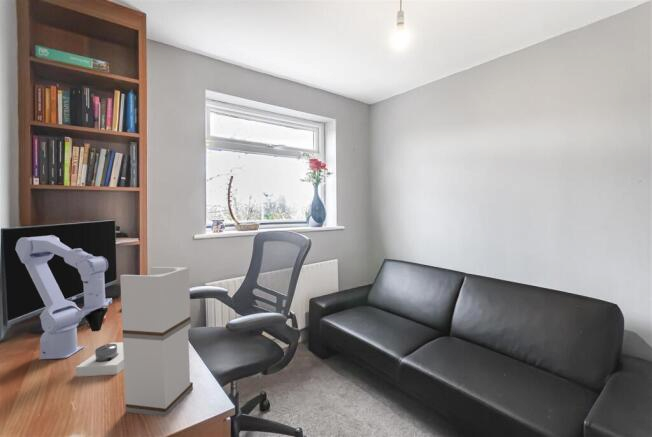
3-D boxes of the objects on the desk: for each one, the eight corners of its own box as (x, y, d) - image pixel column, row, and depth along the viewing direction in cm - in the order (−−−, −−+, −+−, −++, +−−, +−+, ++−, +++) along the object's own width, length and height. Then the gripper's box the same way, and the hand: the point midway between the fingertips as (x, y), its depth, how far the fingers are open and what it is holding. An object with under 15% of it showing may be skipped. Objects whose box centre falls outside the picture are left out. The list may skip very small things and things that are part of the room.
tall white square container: (192, 389, 81) (188, 267, 79) (165, 416, 70) (160, 276, 69) (157, 385, 83) (152, 266, 81) (125, 411, 72) (120, 275, 71)
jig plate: (76, 376, 88) (75, 367, 88) (111, 350, 104) (110, 342, 104) (117, 374, 89) (116, 364, 89) (145, 349, 105) (145, 341, 105)
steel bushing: (91, 371, 90) (90, 352, 90) (103, 361, 96) (103, 344, 96) (110, 369, 91) (109, 351, 91) (121, 360, 96) (120, 343, 96)
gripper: (91, 298, 92) (93, 339, 92) (120, 286, 106) (121, 321, 107) (68, 299, 91) (69, 340, 92) (100, 286, 106) (101, 322, 106)
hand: (96, 330), depth 99 cm, fingers closed
